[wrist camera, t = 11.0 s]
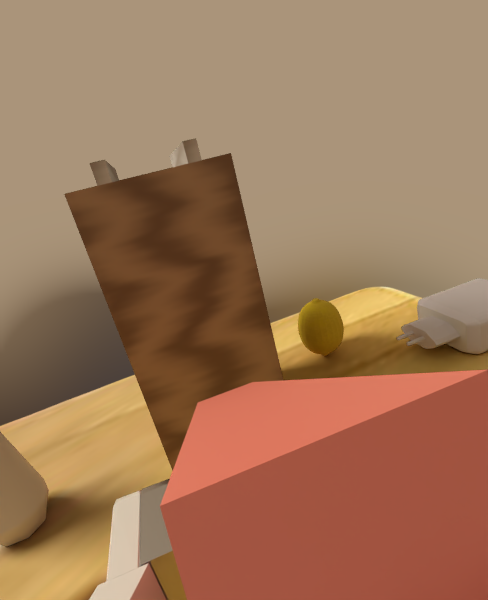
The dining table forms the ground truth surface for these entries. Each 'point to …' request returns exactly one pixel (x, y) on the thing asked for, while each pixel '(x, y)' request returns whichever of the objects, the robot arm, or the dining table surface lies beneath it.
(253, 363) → the wooden knife block
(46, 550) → the dining table surface
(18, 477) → the salt shaker
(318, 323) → the lemon
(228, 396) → the salmon red bar
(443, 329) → the charger
